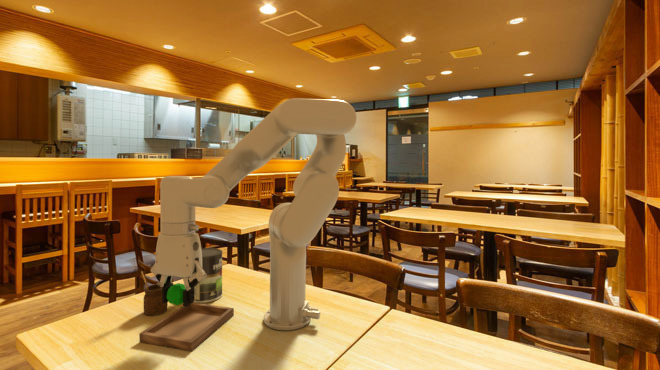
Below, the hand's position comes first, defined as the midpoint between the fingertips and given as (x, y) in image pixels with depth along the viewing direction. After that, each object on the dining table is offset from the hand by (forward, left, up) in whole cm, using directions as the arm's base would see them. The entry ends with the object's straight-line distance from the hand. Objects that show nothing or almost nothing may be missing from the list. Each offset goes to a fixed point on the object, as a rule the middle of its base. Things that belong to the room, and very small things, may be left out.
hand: (178, 302), depth 80 cm
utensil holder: (+15, -9, -9) cm, 19 cm away
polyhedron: (0, 0, -1) cm, 1 cm away
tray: (0, -4, -9) cm, 9 cm away
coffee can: (+8, -22, -9) cm, 25 cm away
